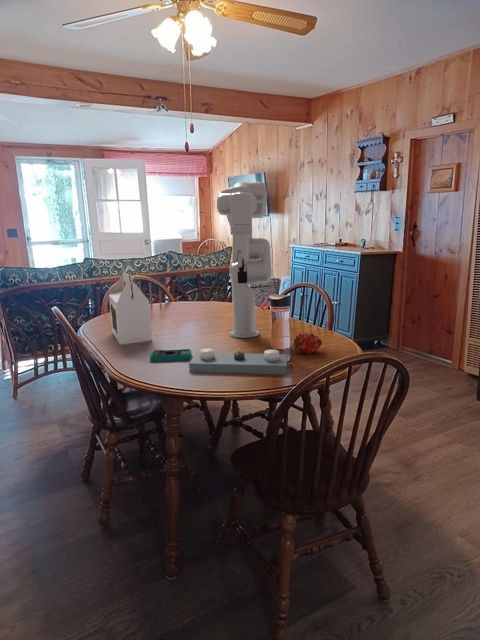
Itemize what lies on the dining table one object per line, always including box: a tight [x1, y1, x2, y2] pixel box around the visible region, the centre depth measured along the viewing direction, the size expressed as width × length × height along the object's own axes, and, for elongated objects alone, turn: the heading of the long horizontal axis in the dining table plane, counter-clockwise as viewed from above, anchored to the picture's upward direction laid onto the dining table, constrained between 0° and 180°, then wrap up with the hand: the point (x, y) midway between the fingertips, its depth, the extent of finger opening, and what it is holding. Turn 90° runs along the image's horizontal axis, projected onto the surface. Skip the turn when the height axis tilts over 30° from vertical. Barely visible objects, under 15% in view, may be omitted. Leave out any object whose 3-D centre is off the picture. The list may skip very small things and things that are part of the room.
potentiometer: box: [233, 348, 245, 360], centre depth 153 cm, size 4×4×3 cm
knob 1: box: [199, 347, 216, 360], centre depth 155 cm, size 5×5×6 cm
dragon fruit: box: [293, 332, 323, 355], centre depth 167 cm, size 8×8×12 cm
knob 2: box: [263, 349, 280, 361], centre depth 152 cm, size 5×5×6 cm
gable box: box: [108, 270, 153, 346], centre depth 193 cm, size 22×13×28 cm, turn 23°
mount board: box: [188, 352, 289, 375], centre depth 154 cm, size 12×32×3 cm, turn 82°
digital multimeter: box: [149, 348, 192, 363], centre depth 166 cm, size 7×15×3 cm, turn 93°
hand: (242, 282), depth 160 cm, fingers closed
